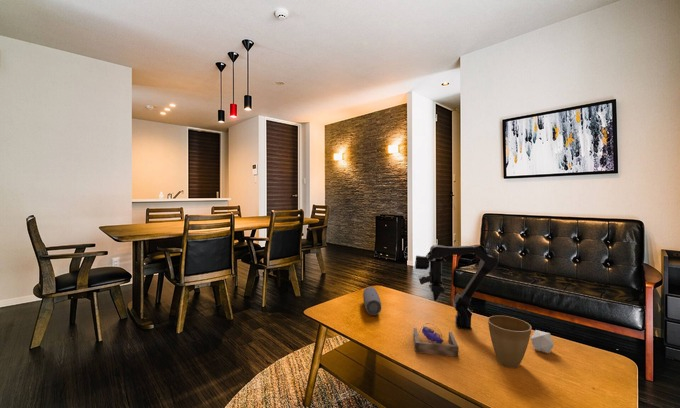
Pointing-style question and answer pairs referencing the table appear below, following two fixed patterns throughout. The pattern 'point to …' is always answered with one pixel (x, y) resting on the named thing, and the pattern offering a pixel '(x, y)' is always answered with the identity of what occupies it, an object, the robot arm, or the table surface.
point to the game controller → (431, 335)
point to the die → (542, 341)
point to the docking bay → (436, 346)
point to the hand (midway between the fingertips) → (435, 300)
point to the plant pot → (509, 339)
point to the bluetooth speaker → (371, 301)
